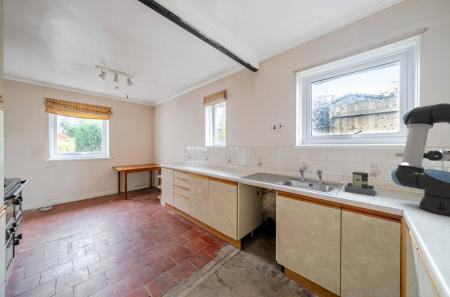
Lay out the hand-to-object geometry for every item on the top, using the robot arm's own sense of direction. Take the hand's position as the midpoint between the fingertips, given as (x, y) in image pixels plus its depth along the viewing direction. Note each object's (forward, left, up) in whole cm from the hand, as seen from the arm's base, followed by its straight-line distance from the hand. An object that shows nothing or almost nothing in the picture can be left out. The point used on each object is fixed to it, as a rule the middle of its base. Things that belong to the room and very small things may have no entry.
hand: (401, 155), depth 125 cm
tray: (+11, +23, -30) cm, 39 cm away
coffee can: (+11, +23, -29) cm, 39 cm away
